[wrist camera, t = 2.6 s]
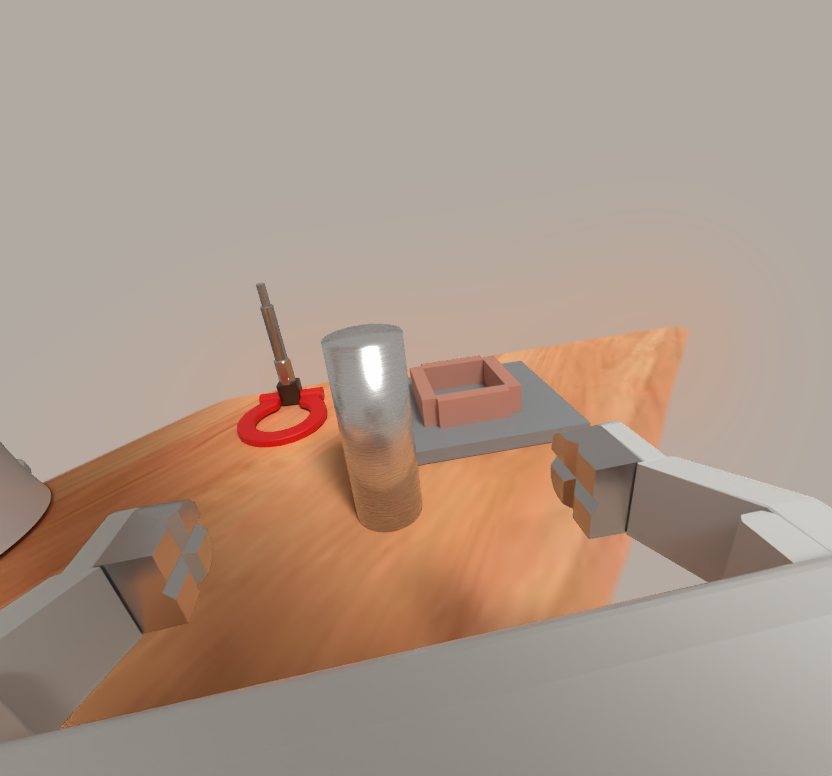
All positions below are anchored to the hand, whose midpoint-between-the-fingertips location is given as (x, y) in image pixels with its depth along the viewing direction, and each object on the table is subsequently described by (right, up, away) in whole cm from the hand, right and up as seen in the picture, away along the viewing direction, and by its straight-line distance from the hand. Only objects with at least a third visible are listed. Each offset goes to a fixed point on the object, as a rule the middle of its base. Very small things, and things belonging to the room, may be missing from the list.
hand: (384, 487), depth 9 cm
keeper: (+5, 0, +28) cm, 29 cm away
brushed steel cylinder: (-1, -6, +17) cm, 18 cm away
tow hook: (-12, -1, +30) cm, 33 cm away
